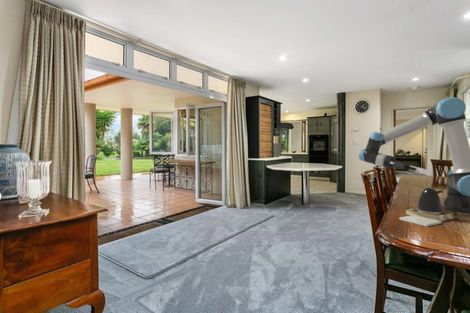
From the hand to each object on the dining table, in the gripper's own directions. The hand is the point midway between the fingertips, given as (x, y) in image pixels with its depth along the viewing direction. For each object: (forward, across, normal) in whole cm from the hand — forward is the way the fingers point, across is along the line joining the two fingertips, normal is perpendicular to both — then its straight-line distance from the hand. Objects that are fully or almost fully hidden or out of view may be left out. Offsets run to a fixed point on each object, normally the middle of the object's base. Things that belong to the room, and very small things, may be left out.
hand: (427, 172), depth 131 cm
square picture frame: (+8, 0, -22) cm, 23 cm away
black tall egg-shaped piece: (+8, 0, -22) cm, 23 cm away
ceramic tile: (+8, +16, -23) cm, 29 cm away
